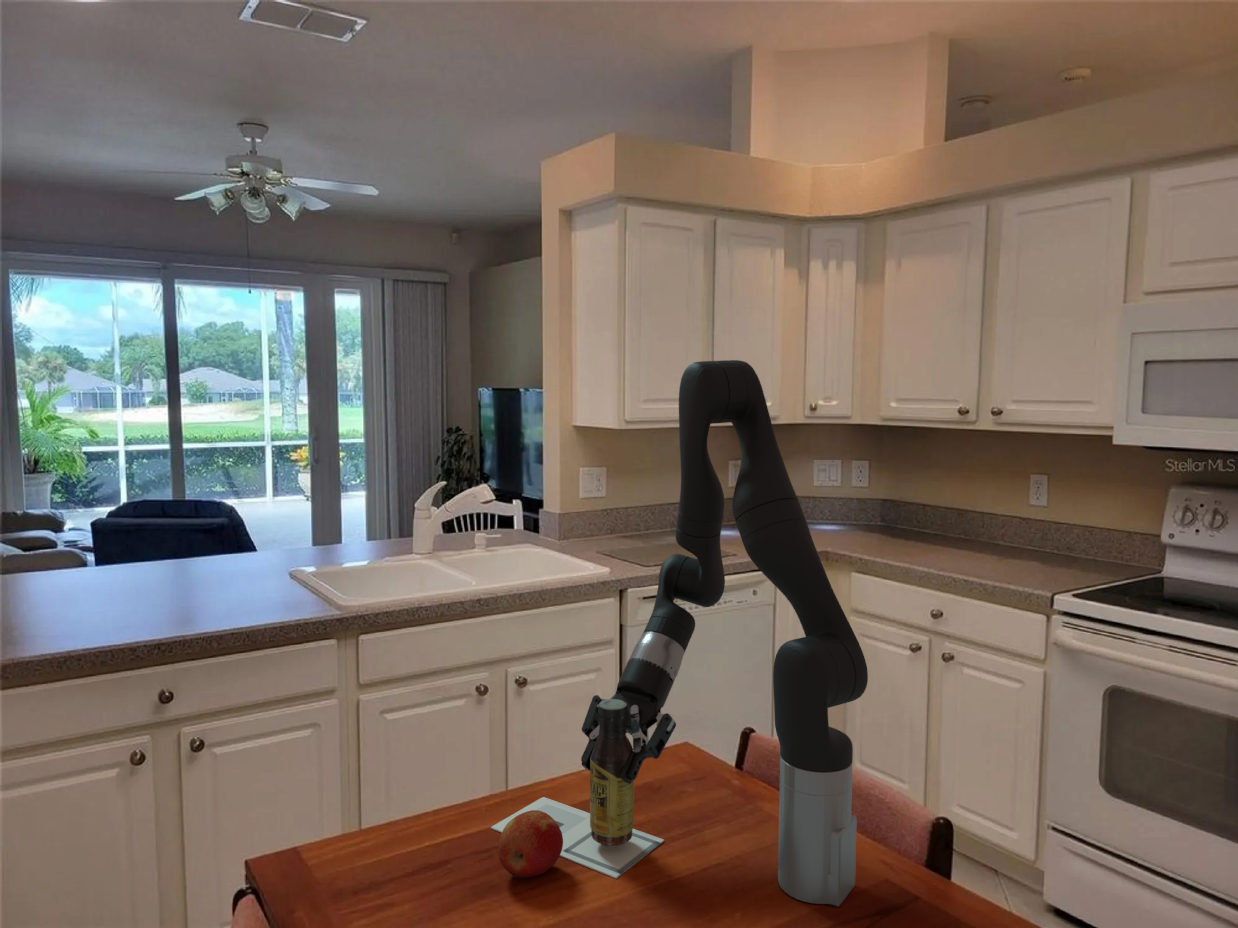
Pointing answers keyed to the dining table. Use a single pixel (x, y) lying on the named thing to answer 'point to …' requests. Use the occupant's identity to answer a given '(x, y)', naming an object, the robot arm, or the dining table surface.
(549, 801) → the mat
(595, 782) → the sauce bottle
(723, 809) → the dining table surface
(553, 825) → the apple
